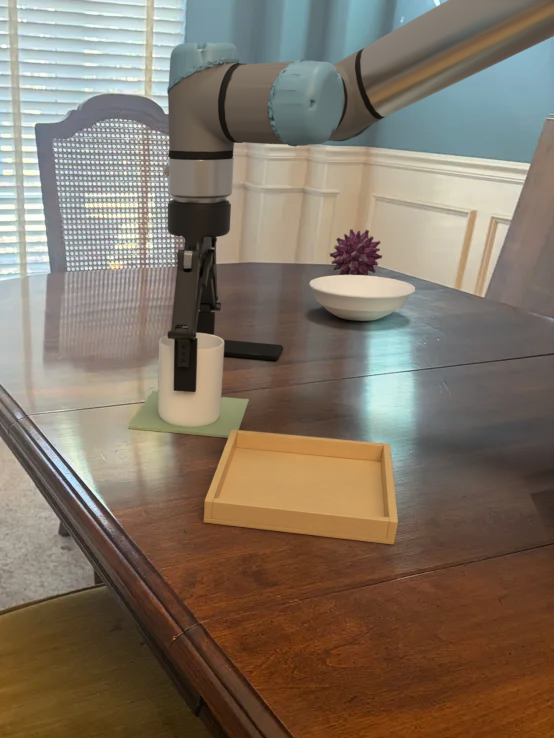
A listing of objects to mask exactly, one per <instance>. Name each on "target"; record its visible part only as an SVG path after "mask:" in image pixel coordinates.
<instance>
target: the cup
mask: <svg viewBox="0 0 554 738" xmlns="http://www.w3.org/2000/svg"><path fill="white" fill-rule="evenodd" d="M195 338H198V342H197V376H196V391H195V392H186V391H174V339H168V334H166V335H163V336H161V337H160V338H159V339H158V377H157V379H158V381H157V385H158V386H157V387H158V388H157V392H158V412H159V416H160V418H161V419H162V420H163V421H164V422H166V423H169V424H172V425H175V426H181V427H200V426H206V425H209V424H212V423H214V422H215V421H216V420H217V419H218V418H219V415H220V410H221V397H222V392H223V373H224V358H225V356H224V340H225V339H223V338H222V337H220V336H218V335H215V334H214V335H211V334H205V333H196V337H195Z"/></svg>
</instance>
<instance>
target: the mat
mask: <svg viewBox="0 0 554 738" xmlns="http://www.w3.org/2000/svg"><path fill="white" fill-rule="evenodd" d="M249 403H250V399H249V398H238V397H225V396H221V410H220V415H219V418H218V419H217V420H216V421H215V422H214V423H212V424H209V425H206V426H200V427H181V426H175V425H172V424H169V423H166V422H164V421H163V420H162V419H161V418H160V416H159V412H158V391H155V390H154V391H153V390H152V391H151V393H150V394H149V396H148V397H147V399H146V400H145V401H144V403H143V405H142V406H141V407H140V409H139V410H138V412H136V414H135V416H134V417H133V419H132V420H131V421H130V423H129V425H128V429H129V430H140V431H151V432H163V433H170V434H171V433H172V434H173V433H174V434H182V435H192V436H193V435H195V436H204V437H212V438H213V437H214V438H225V439H228V437H229V435H230V432H231V430H241V429H240V428H241V426H242V422H243V421H244V418H245V414H246V411H247V408H248V406H249Z"/></svg>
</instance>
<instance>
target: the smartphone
mask: <svg viewBox="0 0 554 738" xmlns="http://www.w3.org/2000/svg"><path fill="white" fill-rule="evenodd" d="M223 340H224V357H233V358H243V359H253V360H263V361H264V360H265V361H278V359H279V357H280V355H281V353H282V352H283V350H284V346H283V345H281V344H274V343H265V342H255V341H253V342H252V341H241V340H231V339H223Z"/></svg>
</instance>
